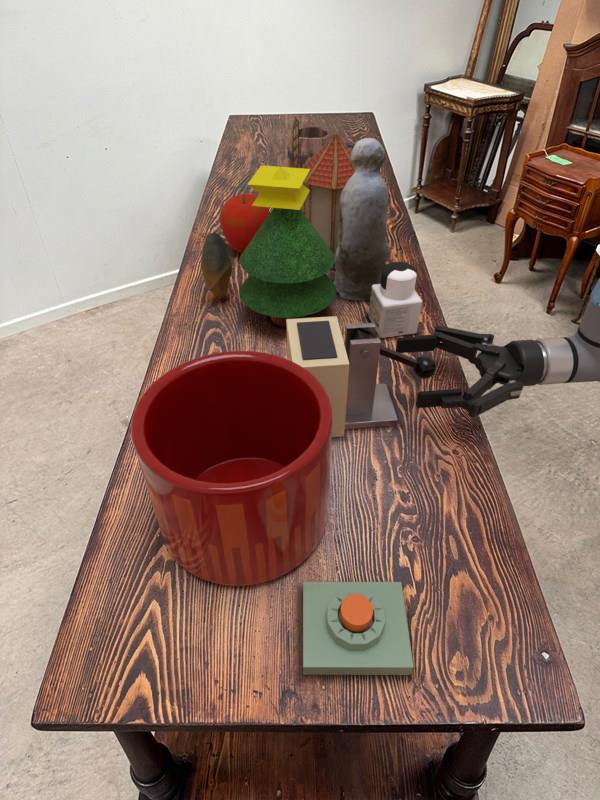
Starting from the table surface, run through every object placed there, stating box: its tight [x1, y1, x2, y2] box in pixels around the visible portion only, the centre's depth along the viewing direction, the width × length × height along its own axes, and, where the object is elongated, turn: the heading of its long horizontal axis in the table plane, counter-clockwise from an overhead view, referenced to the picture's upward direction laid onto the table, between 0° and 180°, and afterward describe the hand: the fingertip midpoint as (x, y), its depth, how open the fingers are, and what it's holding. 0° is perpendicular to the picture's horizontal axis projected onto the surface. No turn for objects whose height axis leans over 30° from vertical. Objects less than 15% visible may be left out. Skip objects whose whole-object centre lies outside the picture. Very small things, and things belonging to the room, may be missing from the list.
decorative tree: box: [239, 165, 337, 328], centre depth 101 cm, size 19×19×30 cm
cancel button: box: [340, 594, 373, 632], centre depth 60 cm, size 4×4×2 cm
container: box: [368, 261, 423, 339], centre depth 104 cm, size 8×8×13 cm
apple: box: [218, 192, 271, 254], centre depth 127 cm, size 12×12×14 cm
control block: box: [302, 581, 414, 676], centre depth 62 cm, size 12×10×4 cm
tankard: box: [287, 125, 356, 214], centre depth 142 cm, size 24×17×20 cm
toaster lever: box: [349, 330, 437, 380], centre depth 84 cm, size 15×4×4 cm, turn 96°
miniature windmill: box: [292, 117, 355, 271], centre depth 121 cm, size 24×20×30 cm
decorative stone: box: [200, 232, 233, 301], centre depth 111 cm, size 10×6×15 cm, turn 173°
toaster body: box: [286, 315, 349, 438], centre depth 85 cm, size 8×12×15 cm, turn 6°
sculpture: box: [333, 137, 391, 302], centre depth 109 cm, size 11×14×30 cm
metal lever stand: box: [344, 322, 399, 430], centre depth 85 cm, size 12×9×16 cm
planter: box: [130, 350, 333, 587], centre depth 69 cm, size 23×23×20 cm
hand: (406, 371), depth 86 cm, fingers open, 13 cm apart
